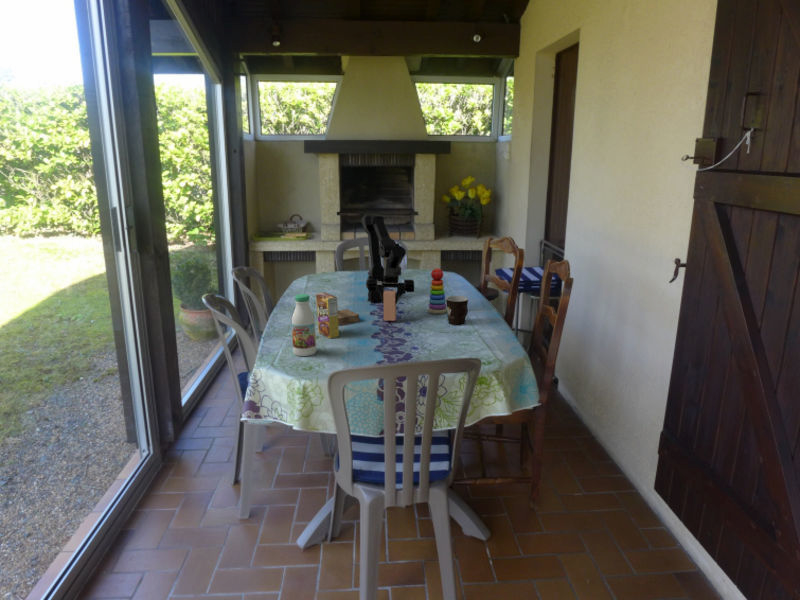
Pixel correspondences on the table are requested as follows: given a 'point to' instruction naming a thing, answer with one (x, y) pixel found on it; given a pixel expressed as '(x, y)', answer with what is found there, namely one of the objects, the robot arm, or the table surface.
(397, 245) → the robot arm
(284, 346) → the table surface
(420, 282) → the table surface
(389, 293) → the terracotta block
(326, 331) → the candy box
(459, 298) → the coffee mug
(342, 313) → the walnut plinth
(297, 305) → the milk bottle
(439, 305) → the stacking toy
